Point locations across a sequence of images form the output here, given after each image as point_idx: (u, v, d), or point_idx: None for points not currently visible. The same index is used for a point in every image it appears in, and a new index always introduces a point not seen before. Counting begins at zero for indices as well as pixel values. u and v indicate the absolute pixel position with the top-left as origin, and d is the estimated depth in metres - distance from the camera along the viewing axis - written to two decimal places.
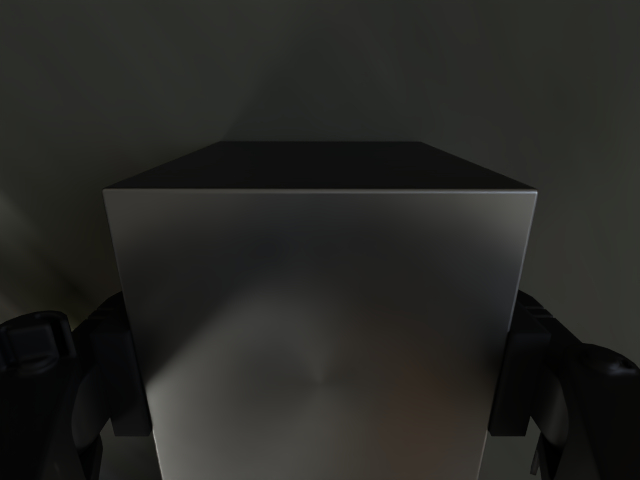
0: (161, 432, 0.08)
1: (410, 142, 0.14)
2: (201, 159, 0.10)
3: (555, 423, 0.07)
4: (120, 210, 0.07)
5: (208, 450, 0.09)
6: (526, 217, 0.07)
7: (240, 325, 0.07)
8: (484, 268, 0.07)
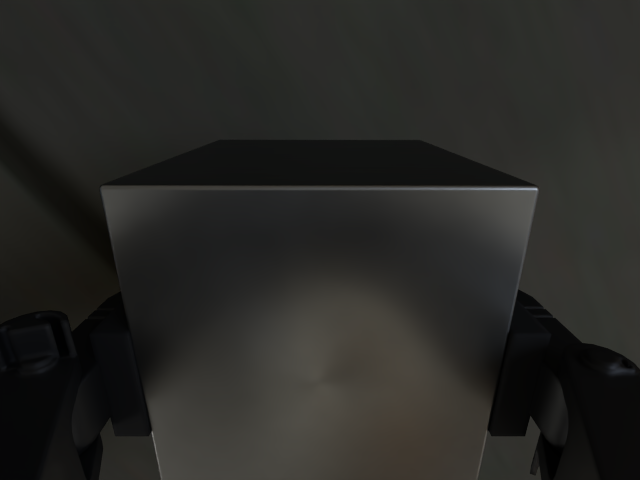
0: (159, 431, 0.08)
1: (410, 140, 0.14)
2: (200, 157, 0.10)
3: (555, 423, 0.07)
4: (117, 208, 0.07)
5: (206, 449, 0.09)
6: (526, 214, 0.07)
7: (239, 323, 0.07)
8: (484, 266, 0.07)
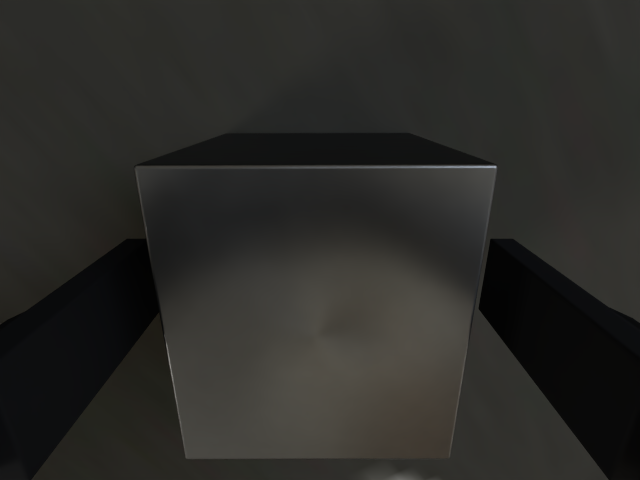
0: (179, 380, 0.10)
1: (399, 133, 0.15)
2: (212, 146, 0.11)
3: None
4: (148, 184, 0.08)
5: (220, 397, 0.10)
6: (488, 188, 0.08)
7: (249, 284, 0.09)
8: (454, 232, 0.08)
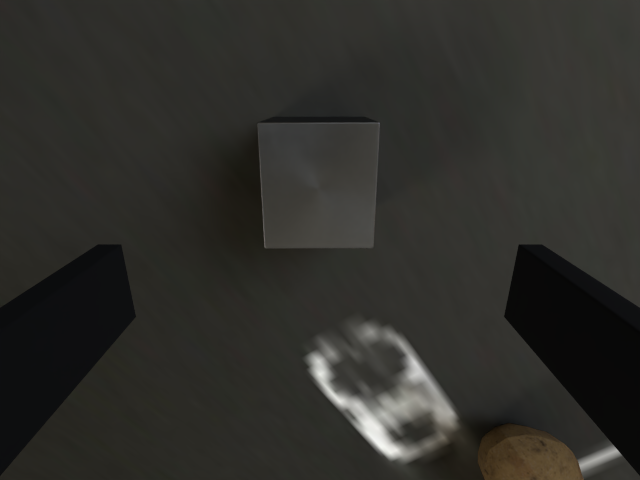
0: (265, 209, 0.25)
1: None
2: (275, 119, 0.26)
3: None
4: (261, 129, 0.23)
5: (280, 217, 0.25)
6: (377, 130, 0.23)
7: (294, 167, 0.24)
8: (367, 147, 0.24)
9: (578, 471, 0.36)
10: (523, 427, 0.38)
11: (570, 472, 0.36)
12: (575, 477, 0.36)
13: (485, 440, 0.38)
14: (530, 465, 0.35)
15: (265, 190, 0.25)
